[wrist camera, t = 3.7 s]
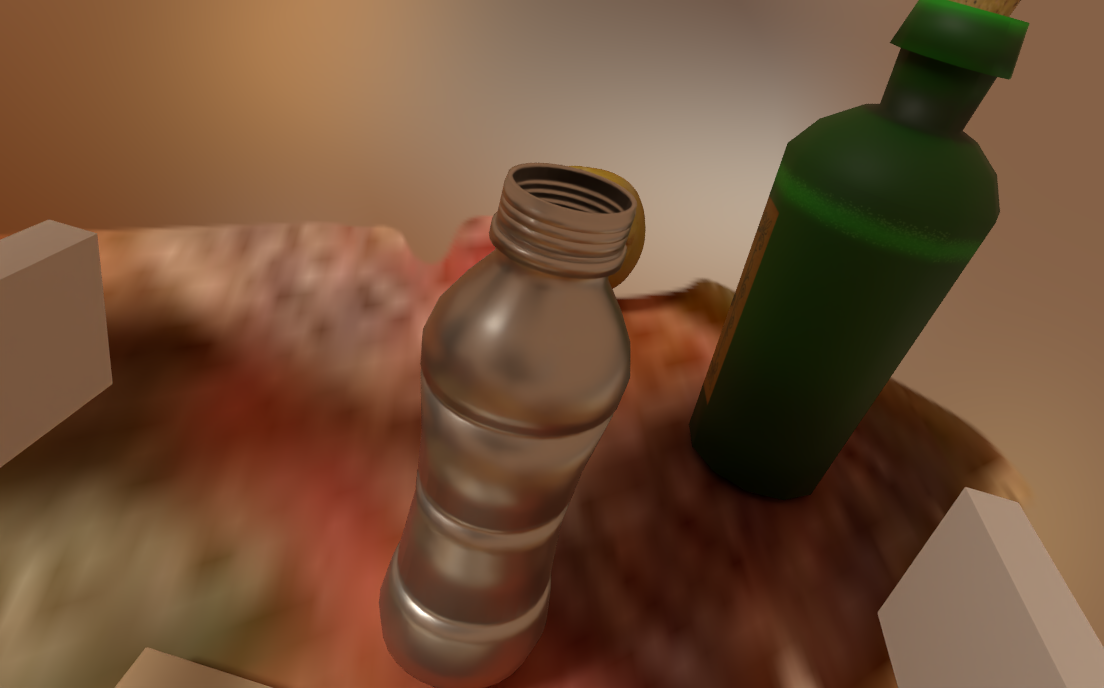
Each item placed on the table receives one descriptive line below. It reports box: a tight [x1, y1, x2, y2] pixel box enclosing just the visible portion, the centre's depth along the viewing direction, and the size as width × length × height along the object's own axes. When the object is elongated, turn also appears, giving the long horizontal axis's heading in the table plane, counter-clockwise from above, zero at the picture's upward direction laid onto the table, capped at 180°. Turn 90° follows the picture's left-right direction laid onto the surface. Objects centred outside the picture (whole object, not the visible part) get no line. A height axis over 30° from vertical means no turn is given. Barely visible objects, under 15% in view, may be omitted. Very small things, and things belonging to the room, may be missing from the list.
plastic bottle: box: [379, 163, 637, 688], centre depth 25 cm, size 6×7×20 cm
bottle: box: [689, 0, 1029, 500], centre depth 38 cm, size 11×11×28 cm
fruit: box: [568, 166, 645, 289], centre depth 57 cm, size 10×11×10 cm
